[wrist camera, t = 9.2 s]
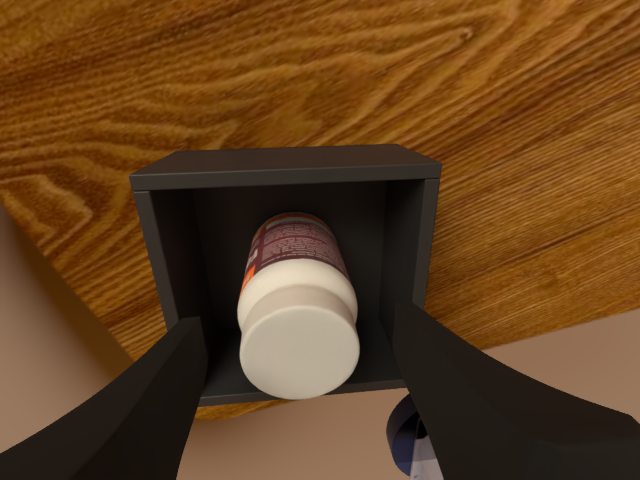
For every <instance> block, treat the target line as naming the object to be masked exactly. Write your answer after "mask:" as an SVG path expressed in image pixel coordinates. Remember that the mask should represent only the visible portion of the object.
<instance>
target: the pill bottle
mask: <svg viewBox="0 0 640 480" xmlns="http://www.w3.org/2000/svg"><path fill="white" fill-rule="evenodd" d="M357 312H358V308H357V300H356V295H355V291H354V289H353V286H352V283H351V281H350V278H349V275H348V273H347V270H346V267H345V264H344V261H343V259H342V256H341V253H340V250H339V247H338V244H337V242H336V239H335V237H334V234H333V233H332V231H331V229H330V228H329V227H328V226H327V225H326V224H325V223H324V222H323V221H322V220H321V219H319V218H317V217H316V216H314V215H311V214H308V213H304V212H285V213H281V214H278V215H276V216H273V217H272V218H270V219H268V220H267V221H266V222H265V223H264V224H263V225H262V226H261V227H260V228H259V229H258V231H257V232H256V234H255V236H254V238H253V241H252V245H251V249H250V253H249V257H248V262H247V266H246V270H245V275H244V280H243V284H242V289H241V293H240V298H239V303H238V309H237V314H238V322H239V326H240V329H241V332H242V338H241V345H240V362H241V366H242V369H243V372H244V373H245V375H246V377H247V378H248V379H249V381H250V382H251V383H252V384H253V385H255V386H256V387H257V388H258V389H260V390H261V391H263V392H265V393H267V394H270V395H272V396H275V397H279V398H284V399H293V400H300V399H309V398H315V397H318V396H321V395H323V394H326V393H328V392H330V391H332V390H334V389H336V388H337V387H339V386H340V385H341V384H342V383H344V382H345V381H346V380H347V379H348V378H349V377H350V375H351V374H352V373H353V371H354V369H355V367H356V365H357V363H358V359H359V355H360V344H359V338H358V334H357V330H356V326H355V323H356V319H357Z"/></svg>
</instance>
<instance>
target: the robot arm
mask: <svg viewBox="0 0 640 480" xmlns="http://www.w3.org/2000/svg"><path fill="white" fill-rule="evenodd" d="M392 347H393V351H394V354H395V358H396V361H397V364H398V367H399V370H400V373H401V375H402V377H403V380H404V382H405V384H406V386H407V389H408V391H409V393H410V395H411V397H412V400H413V402H414V404H415V406H416V408H417V411H418V413H419V415H420V417H419V418H418V420H417V428H416V435H415V442H414V449H413V457H412V464H411V471H410V478H409V480H640V424H639V423H638V422H637V421H636V420H635V419H634V418H633V417H632V416H630V415H628V414H625V413H622V412H619V411H616V410H613V409H610V408H607V407H604V406H601V405H598V404H595V403H592V402H589V401H586V400H584V399H581V398H578V397H575V396H573V395H570V394H568V393H566V392H563V391H560V390H558V389H555V388H553V387H551V386H548V385H546V384H544V383H541V382H539V381H537V380H535V379H533V378H531V377H529V376H526V375H524V374H522V373H520V372H518V371H516V370H514V369H512V368H510V367H508V366H506V365H505V364H503V363H501V362H499V361H497V360H495V359H494V358H492V357H490V356H488V355H487V354H485V353H483V352H482V351H480V350H478V349H477V348H475V347H474V346H472V345H471V344H469V343H468V342H466V341H465V340H463V339H462V338H460V337H459V336H457V335H456V334H454V333H453V332H452V331H450V330H449V329H447V328H446V327H445V326H443V325H442V324H441V323H439V322H438V321H437V320H435V319H434V318H433V317H431V316H430V315H429V314H427V313H426V312H425V311H424V310H422V309H421V308H420V307H418V306H417V305H416V304H414V303H413V302H401V303H396V306H395V318H394V331H393V343H392ZM207 367H208V356H207V351H206V346H205V341H204V336H203V330H202V325H201V320H200V317H190V318H182V319H181V320H180V321H179V322H178V323H176V324H175V325H174V326H173V327H172V328H171V329H170V330H169V331H168V332H167V333H166V334H165V335H164V336H163V337H162V338H161V339H160V340H159V341H158V342H157V343H156V344H154V345H153V346H152V347H151V348H150V349H149V350H148V351H147V352H146V353H145V354H144V355H143V356H142V357H140V358H139V359H138V360H137V361H136V362H135V363H133V364H132V365H131V366H130V367H129V368H128V369H127V370H125V371H124V372H123V373H122V374H121V375H120V376H118V377H117V378H116V379H115V380H113V381H112V382H111V383H109V384H108V385H107V386H106V387H104V388H103V389H102V390H100V391H99V392H98V393H96V394H95V395H93V396H92V397H91V398H89V399H88V400H87V401H85V402H84V403H82V404H81V405H80V406H78V407H76V408H75V409H73V410H72V411H70V412H69V413H67V414H66V415H64V416H63V417H61V418H59V419H58V420H57V421H55V422H53V423H52V424H50V425H49V426H47V427H45V428H44V429H42V430H41V431H39V432H37V433H36V434H34V435H32V436H30V437H29V438H27V439H25V440H24V441H22V442H20V443H18V444H16V445H15V446H13V447H11V448H9V449H8V450H6V451H4V452H2V453H0V480H176V477H177V473H178V468H179V464H180V461H181V457H182V454H183V450H184V447H185V444H186V441H187V438H188V435H189V432H190V429H191V426H192V423H193V420H194V417H195V414H196V410H197V407H198V404H199V401H200V398H201V395H202V391H203V388H204V383H205V378H206V373H207Z"/></svg>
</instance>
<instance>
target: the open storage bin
mask: <svg viewBox="0 0 640 480" xmlns="http://www.w3.org/2000/svg"><path fill="white" fill-rule="evenodd" d="M441 168H442V163H441V162H438V161H436V160H434V159H431V158H429V157H426V156H424V155H422V154H419V153H417V152H414V151H412V150H410V149H407V148H405V147H403V146H400V145H398V144H377V145H347V146H317V147H287V148H257V149H227V150H197V151H176V152H174V153H172V154H170V155H168V156H166V157H164V158H162V159H160V160H158V161H156V162H154V163H152V164H150V165H148V166H146V167H144V168H142V169H140V170H138V171H136V172H134V173H132V174H130V175H129V179H130V183H131V187H132V190H133V191H134V192H133V195H134V199H135V203H136V207H137V211H138V215H139V219H140V223H141V227H142V231H143V235H144V239H145V243H146V247H147V251H148V255H149V259H150V263H151V267H152V271H153V275H154V279H155V283H156V287H157V291H158V295H159V299H160V303H161V307H162V311H163V315H164V319H165V323H166V327H167V331H169V330H170V329H171V328H172V327H173V326H174V325H175V324H176V323H178V322H179V321H180V320H181V319H182V318H190V317H200V320H201V325H202V330H203V336H204V341H205V346H206V351H207V356H208V367H207V373H206V378H205V383H204V388H203V391H202V395H201V398H200V401H199V404H198V407H204V406H214V405H225V404H236V403H246V402H257V401H268V400H279V399H284V398H279V397H275V396H272V395H270V394H267V393H265V392H263V391H261V390H260V389H258V388H257V387H256V386H255V385H253V384H252V383H251V382H250V381H249V379H248V378H247V377H246V375H245V373H244V372H243V369H242V366H241V362H240V345H241V338H242V332H241V329H240V326H239V322H238V314H237V309H238V303H239V298H240V293H241V289H242V284H243V280H244V275H245V270H246V266H247V262H248V257H249V253H250V249H251V245H252V241H253V238H254V236H255V234H256V232H257V231H258V229H259V228H260V227H261V226H262V225H263V224H264V223H265V222H266V221H267V220H268V219H270V218H272V217H273V216H276V215H278V214H281V213H285V212H304V213H308V214H311V215H314V216H316V217H317V218H319V219H321V220H322V221H323V222H324V223H325V224H326V225H327V226H328V227H329V228H330V229H331V231H332V233H333V234H334V237H335V239H336V242H337V244H338V247H339V250H340V253H341V256H342V259H343V261H344V264H345V267H346V270H347V273H348V275H349V278H350V281H351V283H352V286H353V289H354V291H355V295H356V300H357V308H358V312H357V319H356V323H355V326H356V330H357V334H358V338H359V344H360V355H359V359H358V363H357V365H356V367H355V369H354V371H353V373H352V374H351V375H350V377H349V378H348V379H347V380H346V381H345V382H344V383H342V384H341V385H340V386H339V387H337V388H336V389H334V390H332V391H330V392H328V393H326V394H323V395H332V394H343V393H353V392H365V391H375V390H385V389H397V388H407V386H406V384H405V382H404V380H403V377H402V375H401V373H400V370H399V367H398V364H397V361H396V358H395V354H394V351H393V347H392V343H393V331H394V318H395V306H396V303H401V302H413V303H414V304H416V305H417V306H418V307H420V308H421V309H422V310H424V304H425V296H426V288H427V280H428V272H429V264H430V256H431V248H432V240H433V232H434V224H435V216H436V208H437V200H438V192H439V184H440V179H439V178H440V176H441Z"/></svg>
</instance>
